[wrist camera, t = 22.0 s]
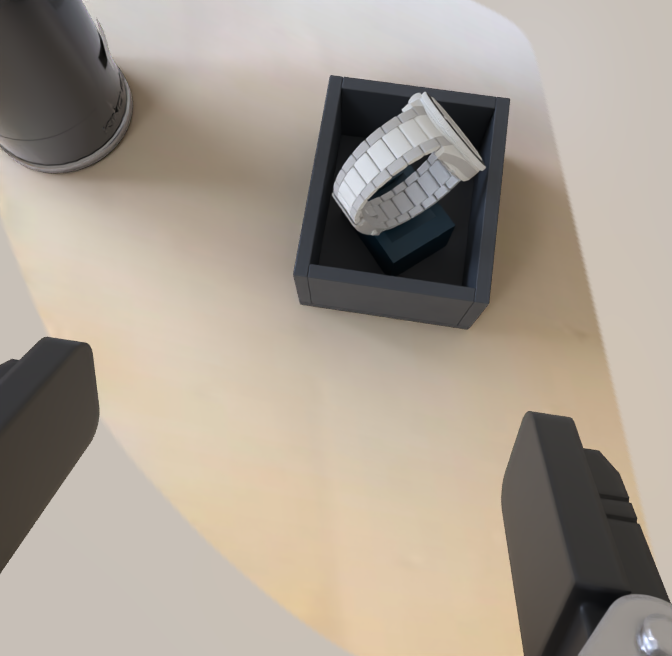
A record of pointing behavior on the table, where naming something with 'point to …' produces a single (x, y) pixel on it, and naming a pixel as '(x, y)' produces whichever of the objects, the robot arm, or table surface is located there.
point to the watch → (406, 184)
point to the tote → (460, 203)
